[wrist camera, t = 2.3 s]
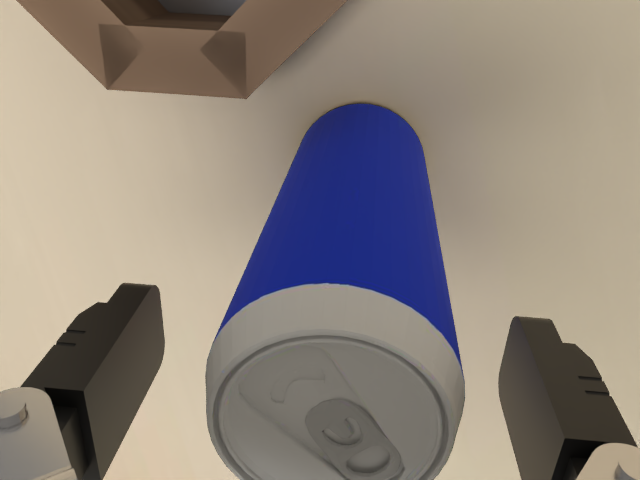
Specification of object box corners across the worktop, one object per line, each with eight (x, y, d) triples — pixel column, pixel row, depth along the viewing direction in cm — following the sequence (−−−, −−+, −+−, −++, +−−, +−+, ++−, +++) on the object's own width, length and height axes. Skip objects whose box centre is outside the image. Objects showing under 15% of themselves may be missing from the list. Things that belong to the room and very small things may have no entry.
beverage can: (274, 150, 24) (134, 401, 11) (373, 72, 22) (353, 259, 9) (349, 239, 26) (309, 556, 12) (448, 173, 24) (527, 462, 10)
